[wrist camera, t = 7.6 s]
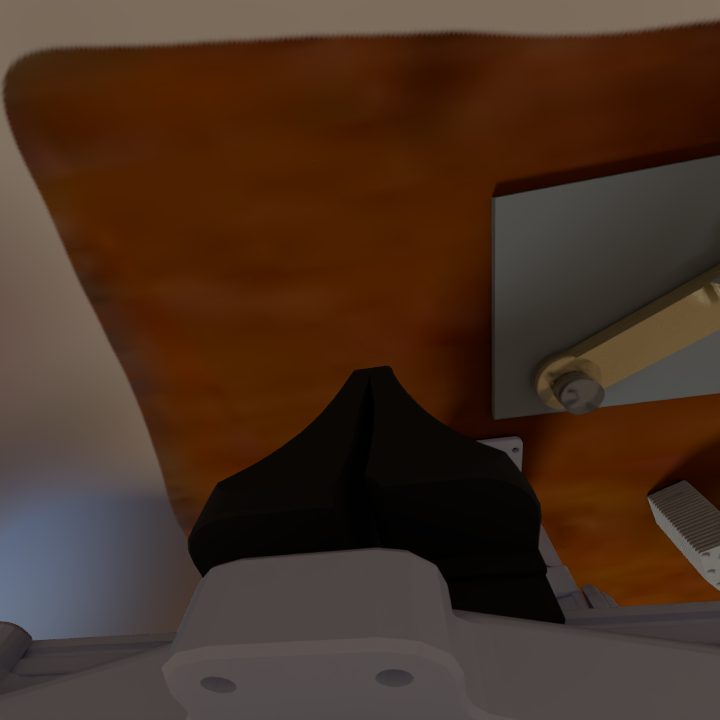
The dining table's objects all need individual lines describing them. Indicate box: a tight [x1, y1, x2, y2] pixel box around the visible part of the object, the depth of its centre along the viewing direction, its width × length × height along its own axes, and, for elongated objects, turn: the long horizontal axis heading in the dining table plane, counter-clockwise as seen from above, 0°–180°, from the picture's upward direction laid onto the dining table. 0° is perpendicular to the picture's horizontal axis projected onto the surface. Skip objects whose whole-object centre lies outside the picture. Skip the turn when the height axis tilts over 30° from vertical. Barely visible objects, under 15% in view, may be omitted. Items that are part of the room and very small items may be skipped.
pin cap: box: [553, 371, 605, 415], centre depth 19 cm, size 2×2×1 cm
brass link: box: [532, 264, 720, 409], centre depth 19 cm, size 12×4×1 cm, turn 128°
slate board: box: [492, 155, 720, 420], centre depth 19 cm, size 14×16×1 cm
